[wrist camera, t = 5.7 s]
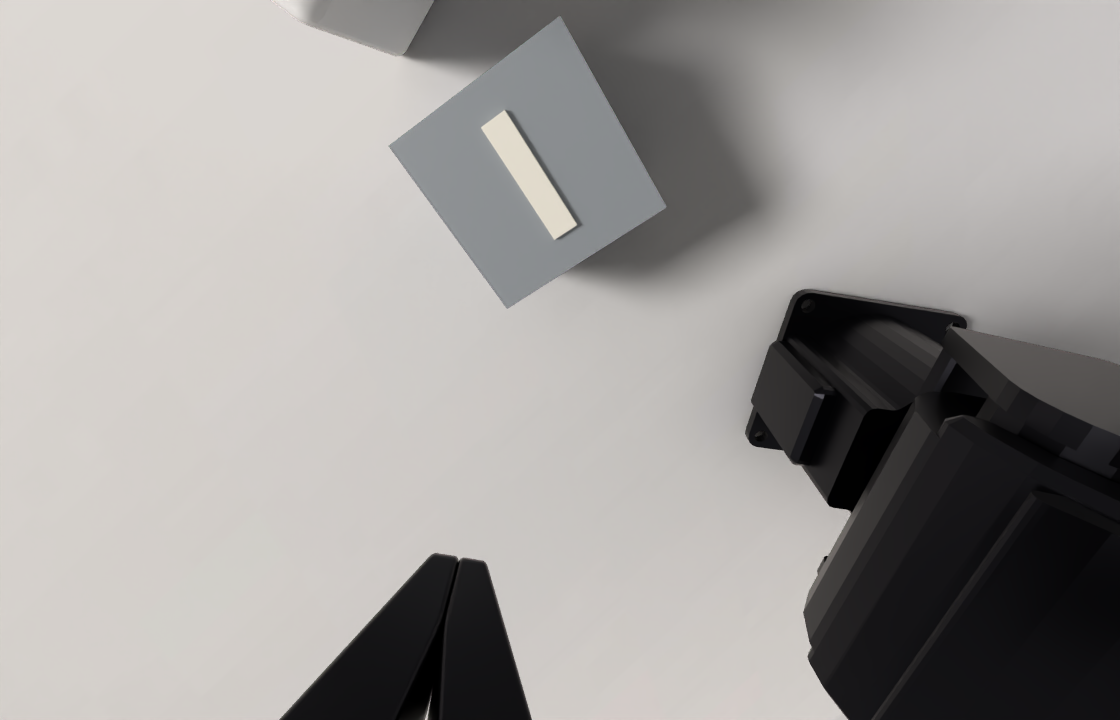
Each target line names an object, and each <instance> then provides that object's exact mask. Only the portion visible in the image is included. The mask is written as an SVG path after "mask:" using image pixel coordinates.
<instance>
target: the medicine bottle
mask: <svg viewBox="0 0 1120 720" xmlns="http://www.w3.org/2000/svg"><path fill="white" fill-rule="evenodd" d="M271 1H272V2H273V3H275V4H276V5H277V6H279V7H280V8H281V9H283V10H284V11H285V12H287V13H288V14H289V15H290V16H292V17H293V18H294V19H296V20H297V21H299V22H301V23H303V24H306V25H308V26H311V27H314V28H316V29H319V30H322V31H325V32H328V33H331V34H333V35H336V36H339V37H342V38H345V39H348V40H351V41H353V42H356V43H359V44H362V45H365V46H368V47H370V48H373V49H376V50H379V51H382V52H385V53H388V54H390V55H393V56H400V55H403V54H404V53H405V52H406V50H407V49H408V47H409V45H410V43H411V42H412V40H413V38H414V36H415V34H416V33H417V31H418V29H419V27H420V25H421V24H422V22H423V20H424V18H425V16H426V15H427V13H428V11H429V9H430V8H431V6H432V4H433V2H434V0H271Z"/></svg>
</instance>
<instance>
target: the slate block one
mask: <svg viewBox="0 0 1120 720" xmlns="http://www.w3.org/2000/svg"><path fill="white" fill-rule="evenodd" d="M389 147H390V149H391V150H392V152H393V153H394V154H395V156H396V157H397V158H398V160H399V161H400V163H401V164H402V165H403V167H404V168H405V169H406V171H407V172H408V173H409V175H410V176H411V178H412V179H413V180H414V182H415V183H416V184H417V186H418V187H419V189H420V190H421V191H422V193H423V194H424V195H425V197H426V198H427V200H428V201H429V202H430V204H431V205H432V206H433V208H434V209H435V211H436V212H437V213H438V215H439V216H440V217H441V219H442V220H443V222H444V223H445V224H446V226H447V227H448V228H449V230H450V231H451V233H452V234H453V235H454V237H455V238H456V239H457V241H458V242H459V244H460V245H461V246H462V248H463V249H464V250H465V252H466V253H467V255H468V256H469V257H470V259H471V260H472V261H473V263H474V264H475V265H476V267H477V268H478V270H479V271H480V272H481V274H482V275H483V276H484V278H485V279H486V281H487V282H488V283H489V285H490V286H491V287H492V289H493V290H494V292H495V293H496V294H497V296H498V297H499V298H500V300H501V301H502V303H503V304H504V305H505V307H506V308H507V309H508V308H509V307H511V306H512V305H514V304H516V303H517V302H519V301H520V300H522V299H523V298H525V297H527V296H528V295H530V294H531V293H533V292H534V291H536V290H538V289H539V288H541V287H542V286H544V285H545V284H547V283H549V282H550V281H552V280H553V279H555V278H556V277H558V276H560V275H561V274H563V273H564V272H566V271H567V270H569V269H571V268H572V267H574V266H575V265H577V264H578V263H580V262H582V261H583V260H585V259H586V258H588V257H589V256H591V255H593V254H594V253H596V252H597V251H599V250H600V249H602V248H604V247H605V246H607V245H608V244H610V243H611V242H613V241H615V240H616V239H618V238H619V237H621V236H622V235H624V234H626V233H627V232H629V231H630V230H632V229H634V228H635V227H637V226H638V225H640V224H641V223H643V222H645V221H646V220H648V219H649V218H651V217H652V216H654V215H656V214H657V213H659V212H660V211H662V210H663V209H665V208H667V206H666V205H665V203H664V201H663V199H662V197H661V196H660V194H659V192H658V190H657V188H656V187H655V185H654V183H653V181H652V179H651V178H650V176H649V174H648V172H647V170H646V169H645V167H644V165H643V163H642V162H641V160H640V158H639V156H638V154H637V153H636V151H635V149H634V147H633V145H632V144H631V142H630V140H629V138H628V136H627V135H626V133H625V131H624V129H623V127H622V126H621V124H620V122H619V120H618V118H617V117H616V115H615V113H614V111H613V109H612V108H611V106H610V104H609V102H608V100H607V99H606V97H605V95H604V93H603V91H602V90H601V88H600V86H599V84H598V82H597V81H596V79H595V77H594V75H593V73H592V72H591V70H590V68H589V66H588V65H587V63H586V61H585V59H584V57H583V56H582V54H581V52H580V50H579V48H578V47H577V45H576V43H575V41H574V39H573V38H572V36H571V34H570V32H569V30H568V29H567V27H566V25H565V23H564V21H563V20H562V18H561V16H559V17H557V18H556V19H555V20H553V21H552V22H551V23H550V24H548V25H547V26H546V27H544V28H543V29H542V30H540V31H539V32H538V33H536V34H535V35H534V36H532V37H531V38H530V39H528V40H527V41H526V42H525V43H523V44H522V45H521V46H519V47H518V48H517V49H515V50H514V51H513V52H511V53H510V54H509V55H507V56H506V57H505V58H504V59H502V60H501V61H500V62H498V63H497V64H496V65H494V66H493V67H492V68H490V69H489V70H488V71H486V72H485V73H484V74H482V75H481V76H480V77H479V78H477V79H476V80H475V81H473V82H472V83H471V84H469V85H468V86H467V87H465V88H464V89H463V90H461V91H460V92H459V93H457V94H456V95H455V96H454V97H452V98H451V99H450V100H448V101H447V102H446V103H444V104H443V105H442V106H440V107H439V108H438V109H436V110H435V111H434V112H433V113H431V114H430V115H429V116H427V117H426V118H425V119H423V120H422V121H421V122H419V123H418V124H417V125H415V126H414V127H413V128H411V129H410V130H409V131H408V132H406V133H405V134H404V135H402V136H401V137H400V138H398V139H397V140H396V141H394V142H393V143H392V144H390V145H389Z"/></svg>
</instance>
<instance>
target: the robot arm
mask: <svg viewBox="0 0 1120 720" xmlns="http://www.w3.org/2000/svg"><path fill="white" fill-rule="evenodd" d="M808 299H810V300H811V303H810V305H809V307H807V308H806V309H801V305H802V303H803V302H804V301H805V300H808ZM952 322H953V325H952V326H950V328H949V329H948V330H947V331H945V330H946V327H947V326H948V325H949V324H950V323H952ZM966 328H967V323H966V320H965V319H964V318H963V317H961V316H959V315H957V314H955V313H952V312H947V311H940V310H934V309H928V308H922V307H915V306H909V305H903V304H896V303H890V302H884V301H877V300H871V299H865V298H859V297H852V296H846V295H840V294H833V293H827V292H821V291H815V290H801V291H798V292H797V293H796V294H795V295H793V297H792V299H791V300H790V303H789V306H788V309H787V312H786V315H785V318H784V320H783V323H782V326H781V329H780V332H779V335H778V338H777V340H776V341H775V342H774V343H772V344H771V345H770V347H769V349H768V352H767V355H766V358H765V361H764V364H763V367H762V370H761V373H760V376H759V379H758V382H757V384H756V387H755V390H754V393H753V396H752V399H751V403H752V404H753V406H754V407H753V410H752V413H751V416H750V419H749V421H748V424H747V427H746V431H745V434H746V437H747V439H748V440H749V442H750V443H751V444H752V445H753V446H756V447H762V448H769V449H776V450H784V452H785V453H786V455H787V456H788V458H789V459H790V461H791V462H792V463H793V464H794V465H801V466H802V467H803V469H804V470H805V472H806V473H807V475H808V476H809V478H810V479H811V480H812V482H813V483H814V485H815V486H816V488H817V489H818V491H819V492H820V493H821V495H822V496H823V498H824V499H825V501H826V502H827V504H828V505H829V506H830V507H833V508H839V509H847V510H849V511H850V513H851V515H850V517H849V519H848V521H847V523H846V525H845V526H844V528H843V530H842V532H841V534H840V536H839V537H838V539H837V541H836V543H835V545H834V546H833V548H832V550H831V552H830V554H829V556H825V557H824V559H823V560H822V562H821V564H820V566H819V568H818V570H817V572H818V576H817V577H816V579H815V581H814V583H813V585H812V587H811V588H810V590H809V593H808V597H807V600H806V604H805V608H804V612H803V613H804V618H805V623H806V628H807V632H808V637H809V642H810V644H811V646H812V648H811V649H810V651H809V653H808V660H809V662H810V664H811V666H812V668H813V670H814V671H815V673H816V675H817V677H818V678H819V680H820V682H821V684H822V686H823V687H824V689H825V690H826V692H827V693H828V694H829V696H830V697H831V698H832V700H833V701H834V702H835V703H836V705H837V706H838V707H839V709H840V710H841V711H842V712H843V714H844V715H845V716H846V717H847V719H848V720H1120V366H1119V365H1117V364H1114V363H1111V362H1109V361H1105V360H1102V359H1098V358H1093V357H1089V356H1084V355H1080V354H1075V353H1071V352H1066V351H1062V350H1057V349H1052V348H1048V347H1043V346H1039V345H1034V344H1030V343H1025V342H1021V341H1016V340H1012V339H1007V338H1003V337H998V336H994V335H989V334H985V333H980V332H976V331H971V330H967V329H966ZM759 431H764V432H763V434H762V435H760V436H755V434H756V433H757V432H759ZM430 699H431V701H430ZM429 703H430V706H429ZM428 707H429V713H428V720H532V718H531V715H530V711H529V708H528V704H527V701H526V698H525V694H524V691H523V687H522V684H521V680H520V677H519V673H518V670H517V666H516V663H515V660H514V656H513V653H512V649H511V646H510V642H509V639H508V635H507V632H506V628H505V625H504V622H503V618H502V615H501V611H500V608H499V604H498V601H497V597H496V594H495V591H494V587H493V584H492V580H491V577H490V573H489V570H488V566H487V564H486V563H485V562H484V561H482V560H476V559H469V558H461V559H460V560H459V563H458V558H457V557H456V556H451V555H445V554H439V553H434V554H432V555H431V556H430V557H428V559H427V560H426V561H425V562H424V563H423V564H422V565H421V566H420V567H419V568H418V569H417V571H416V572H415V573H414V574H413V575H412V576H411V577H410V578H409V579H408V580H407V581H406V583H405V584H404V585H403V586H402V587H401V588H400V589H399V590H398V591H397V592H396V593H395V594H394V596H393V597H392V598H391V599H390V600H389V601H388V602H387V603H386V604H385V605H384V606H383V608H382V609H381V610H380V611H379V612H378V613H377V614H376V615H375V616H374V617H373V618H372V619H371V621H370V622H369V623H368V624H367V625H366V626H365V627H364V628H363V629H362V630H361V631H360V633H359V634H358V635H357V636H356V637H355V638H354V639H353V640H352V641H351V642H350V643H349V645H348V646H347V647H346V648H345V649H344V650H343V651H342V652H341V653H340V654H339V655H338V656H337V658H336V659H335V660H334V661H333V662H332V663H331V664H330V665H329V666H328V667H327V668H326V670H325V671H324V672H323V673H322V674H321V675H320V676H319V677H318V678H317V679H316V680H315V681H314V683H313V684H312V685H311V686H310V687H309V688H308V689H307V690H306V691H305V692H304V693H303V695H302V696H301V697H300V698H299V699H298V700H297V701H296V702H295V703H294V704H293V705H292V707H291V708H290V709H289V710H288V711H287V712H286V713H285V714H284V715H283V716H282V717H281V718H280V720H425V717H426V714H427V711H428Z"/></svg>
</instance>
